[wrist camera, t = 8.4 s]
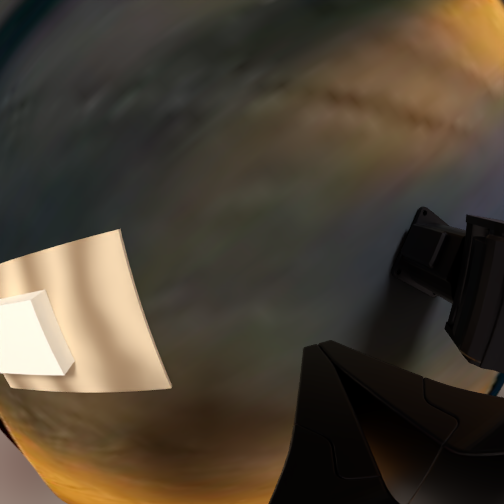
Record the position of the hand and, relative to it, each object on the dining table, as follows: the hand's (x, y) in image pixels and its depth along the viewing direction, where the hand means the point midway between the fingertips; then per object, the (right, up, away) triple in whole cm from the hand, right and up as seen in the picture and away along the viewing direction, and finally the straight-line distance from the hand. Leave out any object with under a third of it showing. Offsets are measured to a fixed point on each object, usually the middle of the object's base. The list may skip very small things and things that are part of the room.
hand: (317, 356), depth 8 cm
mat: (-21, -4, +12) cm, 25 cm away
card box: (-18, -4, +11) cm, 22 cm away
